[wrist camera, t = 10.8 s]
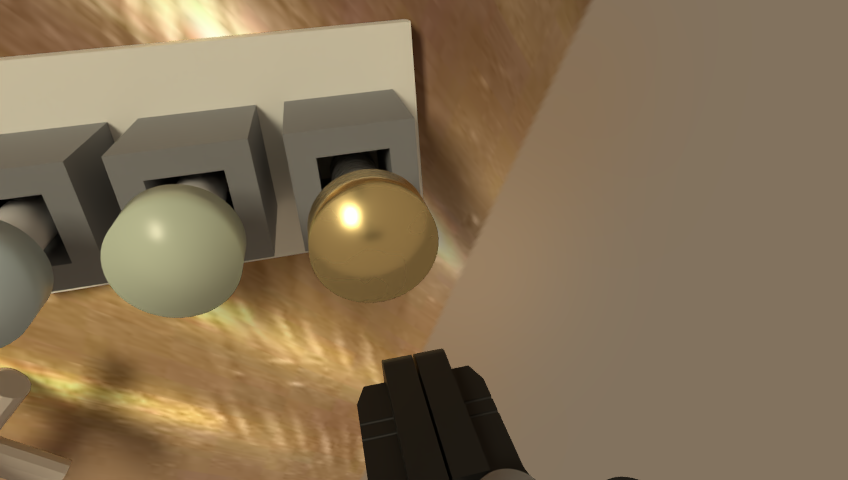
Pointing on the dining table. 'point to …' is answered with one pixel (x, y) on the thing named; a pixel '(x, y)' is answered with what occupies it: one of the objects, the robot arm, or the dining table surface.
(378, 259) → the brass plug
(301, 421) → the dining table surface
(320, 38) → the socket board
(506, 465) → the robot arm
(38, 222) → the slate plug
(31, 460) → the pipe connector
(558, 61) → the dining table surface
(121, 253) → the sage plug
